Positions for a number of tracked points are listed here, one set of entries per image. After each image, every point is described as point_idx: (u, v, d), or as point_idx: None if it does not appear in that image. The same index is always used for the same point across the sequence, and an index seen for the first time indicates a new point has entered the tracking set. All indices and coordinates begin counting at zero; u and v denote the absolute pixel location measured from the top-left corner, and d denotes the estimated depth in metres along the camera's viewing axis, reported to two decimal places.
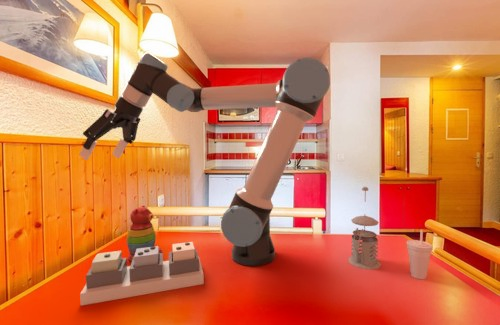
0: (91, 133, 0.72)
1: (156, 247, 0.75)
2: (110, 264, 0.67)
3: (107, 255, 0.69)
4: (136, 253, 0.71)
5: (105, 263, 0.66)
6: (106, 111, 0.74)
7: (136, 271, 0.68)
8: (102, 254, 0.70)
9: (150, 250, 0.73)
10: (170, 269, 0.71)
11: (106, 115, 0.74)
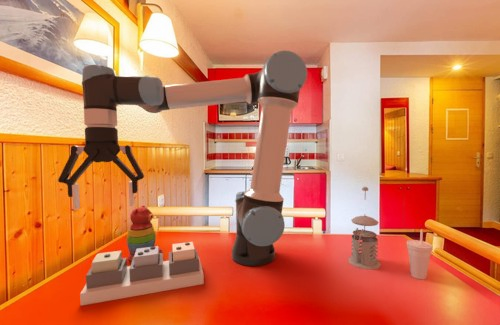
0: None
1: (156, 247, 0.75)
2: (110, 264, 0.67)
3: (107, 255, 0.69)
4: (136, 253, 0.71)
5: (105, 263, 0.66)
6: None
7: (136, 271, 0.68)
8: (102, 254, 0.70)
9: (150, 250, 0.73)
10: (170, 269, 0.71)
11: None
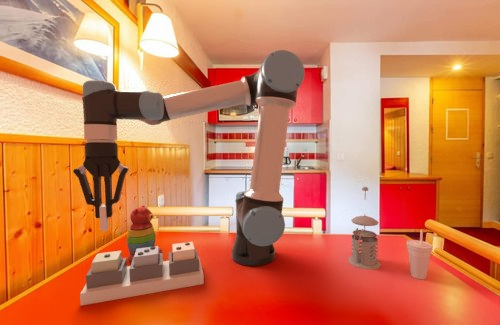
0: None
1: (156, 247, 0.75)
2: (110, 264, 0.67)
3: (107, 255, 0.69)
4: (136, 253, 0.71)
5: (105, 263, 0.66)
6: None
7: (136, 271, 0.68)
8: (102, 254, 0.70)
9: (150, 250, 0.73)
10: (170, 269, 0.71)
11: None
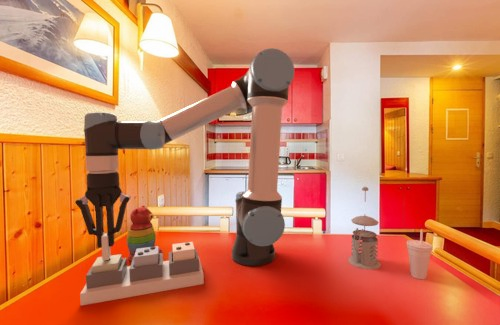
0: None
1: (156, 247, 0.75)
2: (110, 267, 0.67)
3: None
4: (136, 253, 0.71)
5: (105, 267, 0.67)
6: None
7: (136, 271, 0.68)
8: None
9: (150, 250, 0.73)
10: (170, 269, 0.71)
11: None
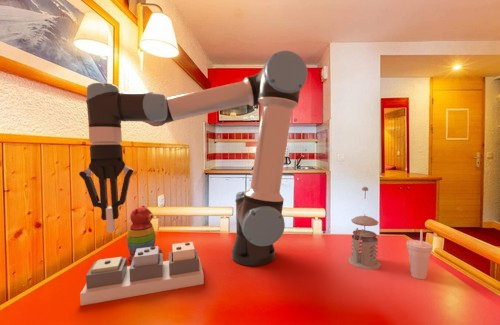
0: None
1: (156, 247, 0.75)
2: (110, 270, 0.67)
3: (107, 261, 0.69)
4: (136, 253, 0.71)
5: (105, 270, 0.67)
6: None
7: (136, 271, 0.68)
8: (102, 261, 0.70)
9: (150, 250, 0.73)
10: (170, 269, 0.71)
11: None
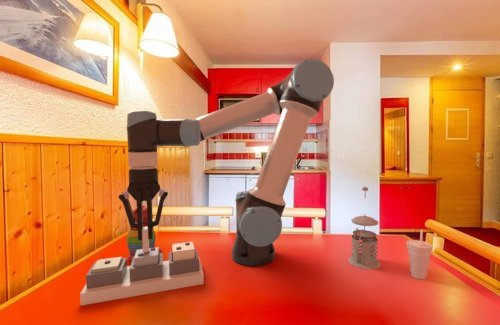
0: None
1: (156, 248, 0.75)
2: (110, 270, 0.67)
3: (107, 261, 0.69)
4: (136, 254, 0.71)
5: (105, 270, 0.67)
6: None
7: (136, 271, 0.68)
8: (102, 261, 0.70)
9: (150, 251, 0.73)
10: (170, 269, 0.71)
11: None
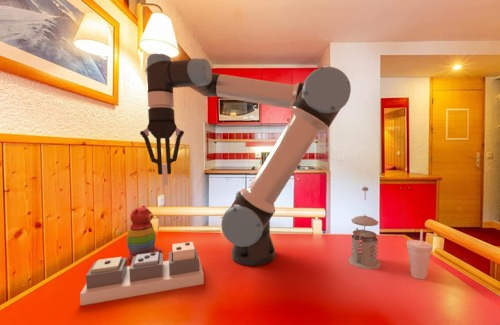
0: (150, 157, 0.77)
1: (156, 253, 0.75)
2: (110, 270, 0.67)
3: (107, 261, 0.69)
4: (136, 259, 0.71)
5: (105, 270, 0.67)
6: None
7: (136, 271, 0.68)
8: (102, 261, 0.70)
9: (150, 256, 0.73)
10: (170, 269, 0.71)
11: None
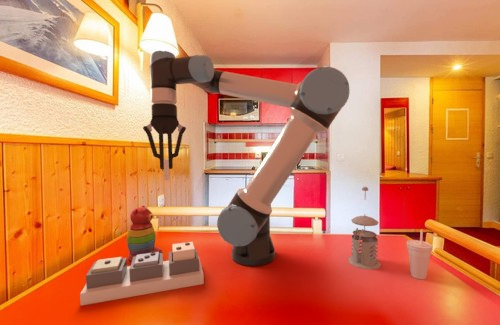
0: (152, 152, 0.79)
1: (156, 253, 0.75)
2: (110, 270, 0.67)
3: (107, 261, 0.69)
4: (136, 259, 0.71)
5: (105, 270, 0.67)
6: None
7: (136, 271, 0.68)
8: (102, 261, 0.70)
9: (150, 256, 0.73)
10: (170, 269, 0.71)
11: None
